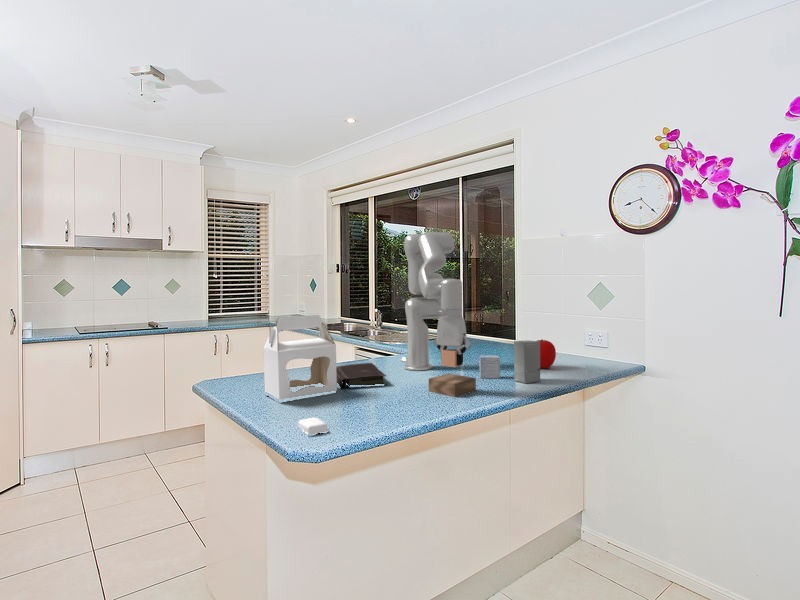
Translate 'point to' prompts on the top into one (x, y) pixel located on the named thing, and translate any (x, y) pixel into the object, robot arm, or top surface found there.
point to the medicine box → (489, 367)
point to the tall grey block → (527, 361)
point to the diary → (359, 374)
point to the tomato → (546, 353)
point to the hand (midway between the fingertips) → (452, 363)
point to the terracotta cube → (449, 357)
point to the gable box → (284, 352)
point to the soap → (312, 425)
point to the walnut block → (452, 385)
